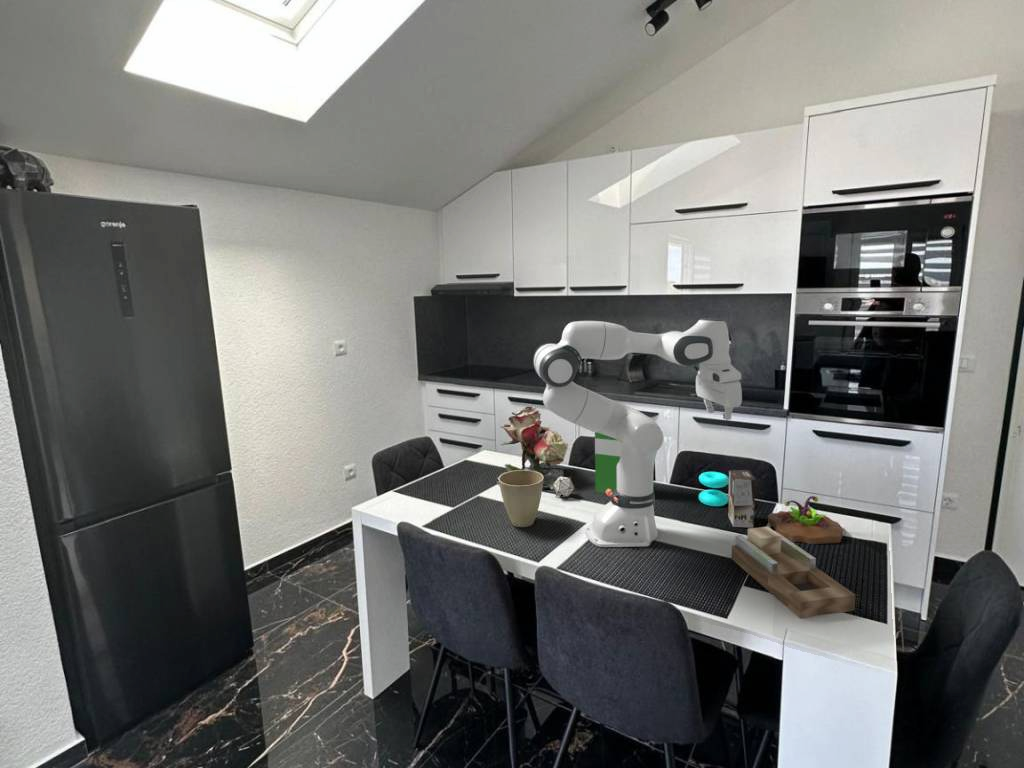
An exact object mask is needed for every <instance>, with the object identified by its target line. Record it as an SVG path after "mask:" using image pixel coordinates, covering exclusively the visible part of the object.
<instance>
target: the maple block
mask: <svg viewBox="0 0 1024 768" xmlns="http://www.w3.org/2000/svg"><path fill="white" fill-rule="evenodd" d="M775 531H776V530H774V529H772V528H771V527H769V526H761V527H760V526H759V527H753V528H747V536H746V537H747V538H746V539H747V540H748V541H750V542H751V543H752V544H753V545H755V546H756V547H757V548H759V549H760V550H761V551H763V552H764V553H765V554H767V555H771V554H779V553H781V535H779V534H778V533H776V532H775Z"/></svg>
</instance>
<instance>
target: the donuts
mask: <svg viewBox="0 0 1024 768" xmlns="http://www.w3.org/2000/svg"><path fill="white" fill-rule="evenodd" d="M698 481H699V482H700V484H702V485H703V486H705V487H708V488H712V489H705V490H702V491H701V492H699V494H698V500H699V501H700V503H702V504H703V505H706V506H710V507H723V506H725V505H726V504H728V499H729V495H727V494H726V493H725V492H723V491H721V490H718V489H720V488H724V487H726V486H727V485H729V476H728V475H726V474H724V473H722V472H717V471H706V472H705V471H704V472H702V473H701V474H700V475H699V476H698Z"/></svg>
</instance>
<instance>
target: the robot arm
mask: <svg viewBox="0 0 1024 768" xmlns="http://www.w3.org/2000/svg"><path fill="white" fill-rule="evenodd" d="M729 351H730V336H729V329H728V325H727V323H726V321H724V319H720V318H713V317H711V318H709V317H707V318H706V317H705V318H704V317H702V318H700V319H699V320H698V321H697V322H696V323H695V324H694V325H693V326H692V327H690V328H688V329H687V330H685V331H683V332H682V331H681V330H677V329H669V330H666V331H662V332H660V333H646V332H638V331H637V332H636V331H632V330H630V329H628V328H627V327H626V326H624V325H622V324H621V325H620V324H617V323H612V322H608V321H601V320H599V321H598V320H578V321H576V320H575V321H571V322H569V323H568V324H567V325H565V327H564V329H563V331H562V334H561V339H560V341H559V342H558V343H556V342H553V341H552V342H549V341H548V342H544V343H542V344H540V345H539V346H538V347H537V348H536V349H535V351H534V353H533V355H532V366H533V367H534V370H535V372H536V374H537V375H538V376H539V378H541V380H542V381H543V382H544V383H545V384H546V386H545V389H544V392H543V395H542V396H543V397H542V403H543V405H544V407H545V408H546V409H548V411H550V412H551V413H553V414H555V415H556V416H559V418H562V419H564V420H566V421H568V422H570V423H572V424H574V425H576V426H579V427H581V428H584V429H586V430H589V431H590V432H592V433H595V432H596V433H600V434H603V435H606V436H609V437H612V438H614V439H616V440H618V441H620V442H621V444H622V452H621V457H620V461H619V462H618V464H617V488H616V490H615V491H614V492H613V491H612V490H611V489H607V491H606V493H605V494H606V495H607V497H610V500H609V502H608V503H606V504H604V505H603V506H602V507H601V508H599V509H598V510H596V512H594V515H593V517H592V523H591V524H588V525H587V526H585V528H584V529H585V531H584V532H585V533H584V534H585V536H586V538H587V539H588V541H590V542H591V543H592V544H593V545H595V546H596V547H599V548H624V547H626V548H629V547H631V548H632V547H634V548H635V547H649V546H650V545H651V543H652V542H653V541H654V540H656V539H657V538H658V537H659V532H658V528H657V524H656V518H655V511H654V510H655V509H654V508H655V504H656V498H655V490H654V468H655V467H654V466H655V463H656V457H657V453H658V451H659V450H660V449H661V447H662V446H663V443H664V434H663V431H662V429H661V427H660V426H659V424H658V423H657V422H656V421H655V420H654V419H652V418H651V417H649V416H648V415H646V414H644V413H643V412H641V411H639V410H638V409H636V408H633V407H630V406H629V405H626V404H624V403H621V402H618V401H616V400H614V399H610V398H609V397H606V396H604V395H601V394H599V393H597V392H595V391H593V390H590V389H588V388H586V387H583V386H581V385H579V384H577V383H575V382H574V379H575V378H576V375H577V373H578V370H579V368H580V366H581V364H582V362H583V361H582V360H583V359H590V360H600V361H601V360H602V361H613V360H620V359H622V358H624V357H625V356H626V355H627V354H630V353H637V354H646V355H647V354H649V355H655V356H657V357H659V358H660V359H662V360H663V361H666V362H670V363H673V364H676V365H680V366H682V367H691V366H695V365H698V366H699V369H698V371H697V374H696V376H695V393H696V396H697V397H699V398H701V399H703V403H704V405H705V407H706V412H707V413H708V414H712V413H713V414H714V412H715V406H713V403H715V404H718V405H721V406H723V408H724V413H722V416H723V417H722V419H723V420H726V421H729V420H730V421H731V420H732V413H733V410H734V408H738V407H741V405H742V403H743V402H742V401H743V391H742V383H741V382H740V381H741V380H742V373H741V372H740V371H739V370H738V369H736V367H734V366H733V364H732V361H731V357H730V352H729Z"/></svg>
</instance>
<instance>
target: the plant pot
mask: <svg viewBox="0 0 1024 768" xmlns="http://www.w3.org/2000/svg"><path fill="white" fill-rule="evenodd" d="M503 473H504V472H503ZM498 477H499V478H498ZM498 477H497V478H498V480H499V485H498V486H499V489H500V493H501V497H502V501H503V505H504V508H505V510H506V512H507V513H506V514H507V516H508V518H509V520H510V522H511V521H512V522H513V523H512V522H511V524H512V525H513V527H517V528H526V527H530V526H532V525H534V522H535V520H536V517H537V514H538V511H539V507H540V503H541V499H542V494H543V489H542V487H543V478H544V477H543V475H542V474H541V473H539V472H536V471H530V470H515V471H510V472H509V471H507V472H506V473H504V474H502V473H501V474H500V475H499V476H498ZM514 523H516V524H514ZM517 524H527V525H517Z"/></svg>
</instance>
